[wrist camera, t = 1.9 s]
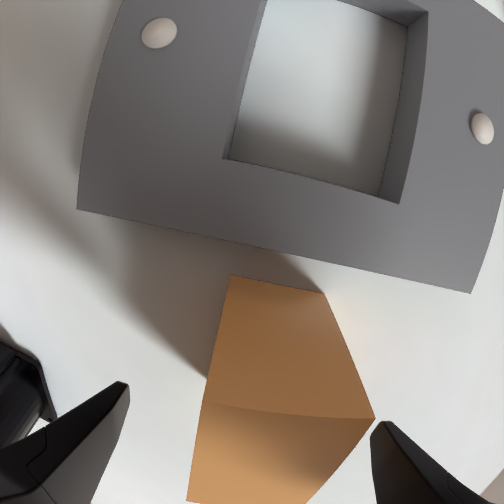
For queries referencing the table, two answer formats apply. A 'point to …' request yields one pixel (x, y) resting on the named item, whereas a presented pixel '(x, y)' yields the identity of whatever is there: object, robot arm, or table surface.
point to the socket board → (289, 184)
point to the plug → (276, 399)
